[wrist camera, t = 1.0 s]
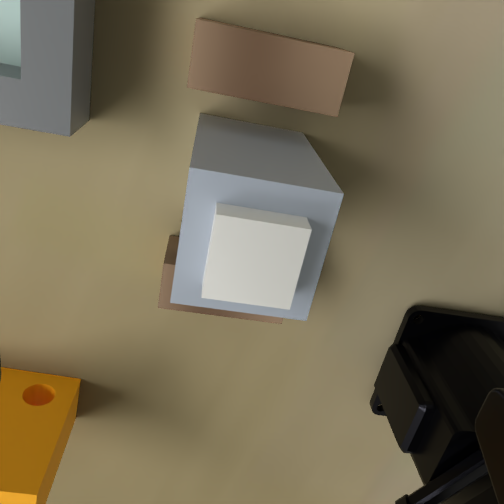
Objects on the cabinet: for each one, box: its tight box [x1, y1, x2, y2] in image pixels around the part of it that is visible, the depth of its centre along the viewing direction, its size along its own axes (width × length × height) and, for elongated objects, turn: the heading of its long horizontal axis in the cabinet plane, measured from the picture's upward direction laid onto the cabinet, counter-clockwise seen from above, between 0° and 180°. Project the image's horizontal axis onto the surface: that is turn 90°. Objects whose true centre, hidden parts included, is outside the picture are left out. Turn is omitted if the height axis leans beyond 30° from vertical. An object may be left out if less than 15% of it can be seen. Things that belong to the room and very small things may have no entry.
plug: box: [170, 113, 344, 321], centre depth 16 cm, size 4×4×8 cm
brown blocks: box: [158, 18, 355, 324], centre depth 18 cm, size 5×10×2 cm, turn 169°
